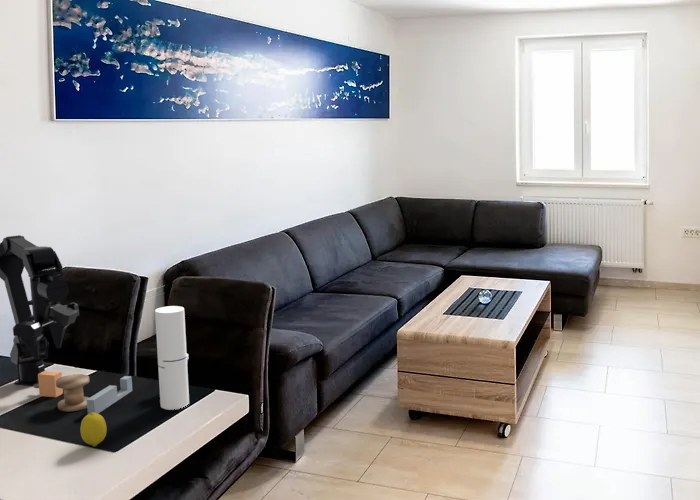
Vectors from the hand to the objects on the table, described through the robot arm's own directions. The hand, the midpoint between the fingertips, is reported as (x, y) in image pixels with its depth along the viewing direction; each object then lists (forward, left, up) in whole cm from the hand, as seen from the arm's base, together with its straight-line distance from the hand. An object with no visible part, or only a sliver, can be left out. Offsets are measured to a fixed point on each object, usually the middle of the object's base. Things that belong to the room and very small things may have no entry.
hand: (47, 353), depth 198 cm
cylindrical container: (+36, 0, -12) cm, 38 cm away
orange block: (-1, 0, -11) cm, 12 cm away
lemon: (+30, -27, -12) cm, 42 cm away
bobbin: (+11, -6, -11) cm, 17 cm away
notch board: (+19, -2, -11) cm, 22 cm away
